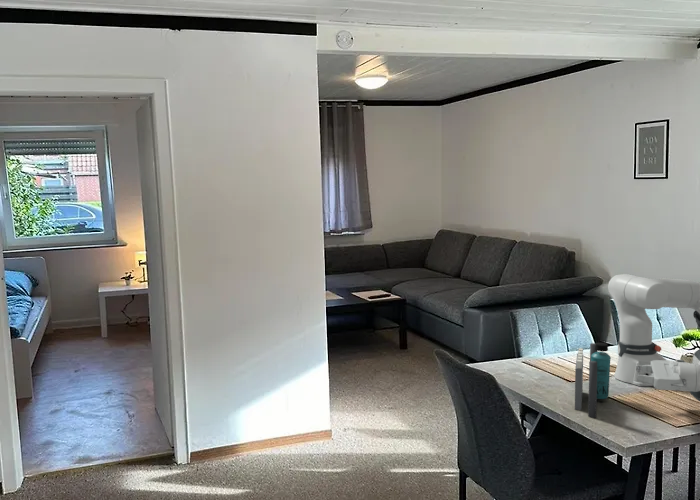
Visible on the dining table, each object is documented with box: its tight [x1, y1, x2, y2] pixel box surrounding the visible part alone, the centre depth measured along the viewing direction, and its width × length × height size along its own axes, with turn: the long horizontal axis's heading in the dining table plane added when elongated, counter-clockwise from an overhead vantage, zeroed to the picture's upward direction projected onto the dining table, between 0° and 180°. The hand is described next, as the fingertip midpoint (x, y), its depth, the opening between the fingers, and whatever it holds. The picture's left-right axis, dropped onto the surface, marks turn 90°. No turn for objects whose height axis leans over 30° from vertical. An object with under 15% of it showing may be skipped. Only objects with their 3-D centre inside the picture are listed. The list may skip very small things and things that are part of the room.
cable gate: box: [587, 342, 599, 419], centre depth 210 cm, size 2×24×18 cm, turn 158°
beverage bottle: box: [591, 342, 612, 400], centre depth 214 cm, size 6×7×20 cm
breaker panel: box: [574, 347, 584, 411], centre depth 214 cm, size 2×18×16 cm, turn 158°
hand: (636, 372), depth 205 cm, fingers open, 8 cm apart
